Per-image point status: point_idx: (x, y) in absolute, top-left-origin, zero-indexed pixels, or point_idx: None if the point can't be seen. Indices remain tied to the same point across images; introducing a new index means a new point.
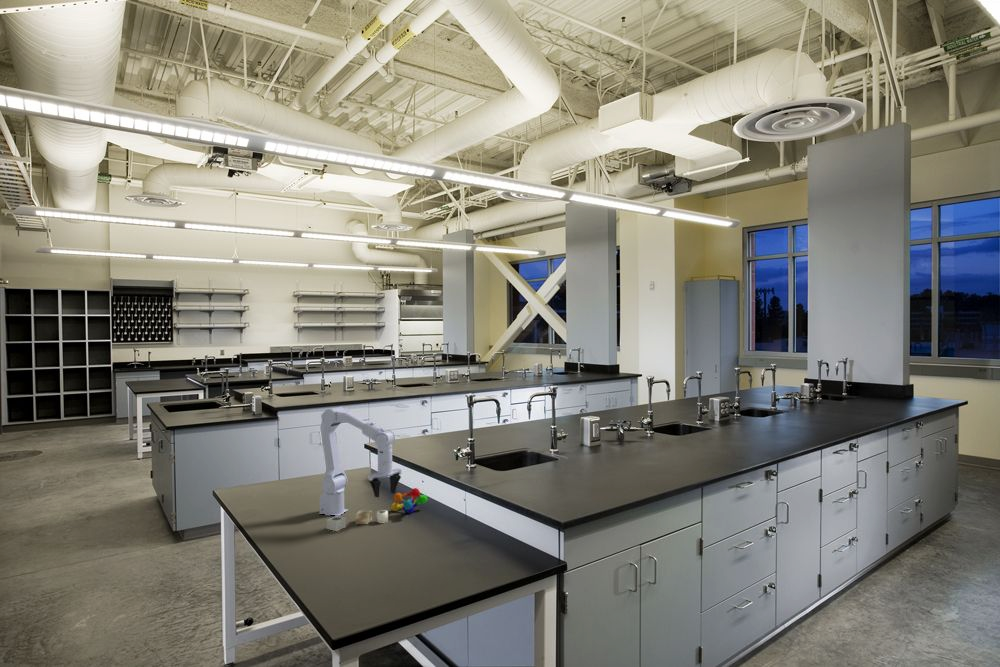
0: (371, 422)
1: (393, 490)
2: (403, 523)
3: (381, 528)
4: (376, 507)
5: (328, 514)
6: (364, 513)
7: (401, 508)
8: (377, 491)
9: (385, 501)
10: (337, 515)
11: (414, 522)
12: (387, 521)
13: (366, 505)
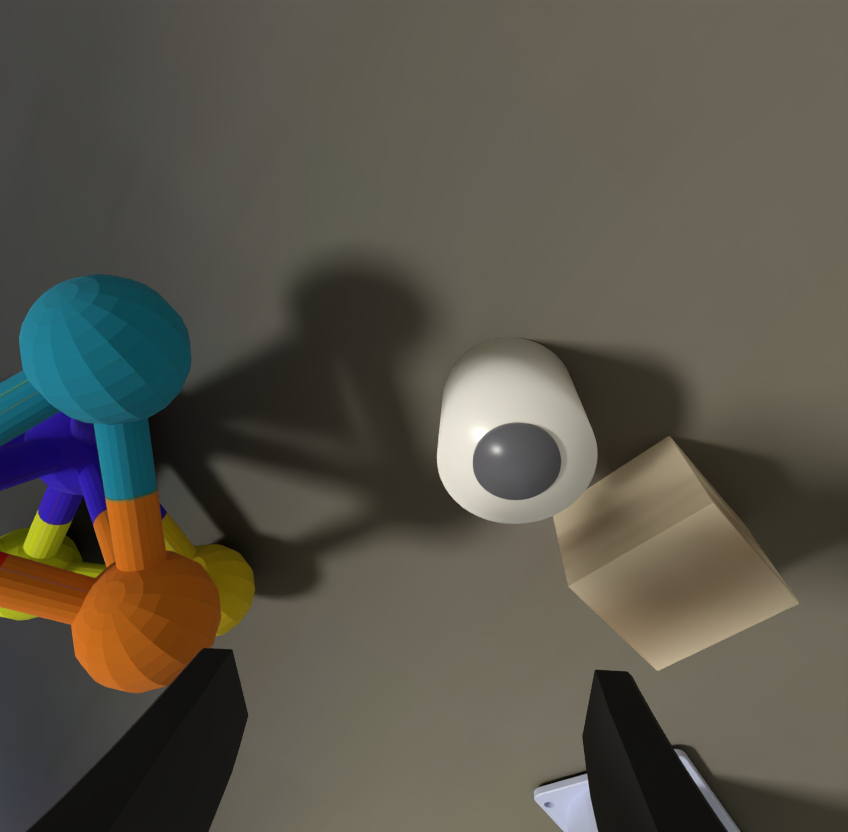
0: None
1: (205, 712)
2: (348, 158)
3: (672, 208)
4: (319, 714)
5: (719, 807)
6: (701, 570)
7: (169, 520)
8: (704, 805)
9: None
10: (687, 760)
11: (206, 73)
12: (474, 350)
13: (358, 781)
